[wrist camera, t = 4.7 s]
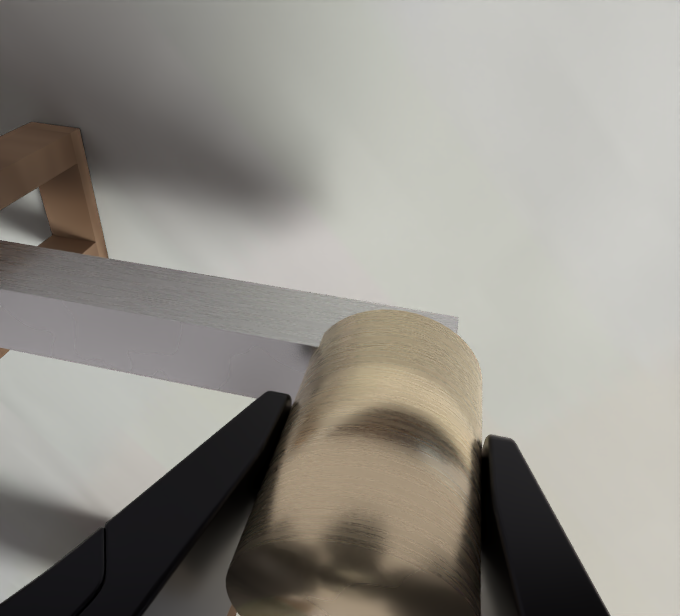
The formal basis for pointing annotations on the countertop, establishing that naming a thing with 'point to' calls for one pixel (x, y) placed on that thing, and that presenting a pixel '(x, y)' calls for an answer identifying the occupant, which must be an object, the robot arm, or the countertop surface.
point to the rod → (296, 422)
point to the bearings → (53, 185)
